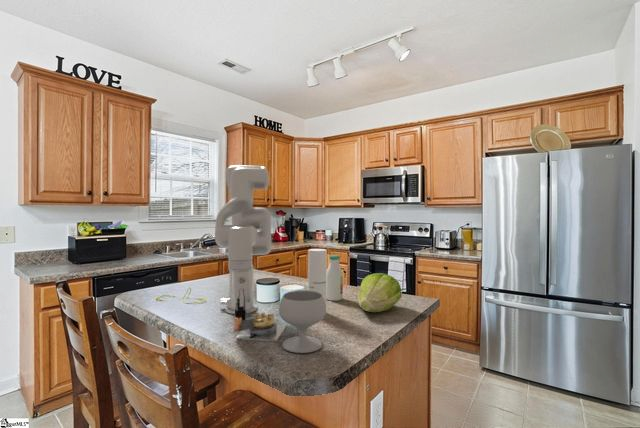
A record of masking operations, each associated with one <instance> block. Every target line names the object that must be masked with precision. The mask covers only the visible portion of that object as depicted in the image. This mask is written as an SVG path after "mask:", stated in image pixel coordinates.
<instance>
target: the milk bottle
mask: <svg viewBox="0 0 640 428" xmlns="http://www.w3.org/2000/svg"><path fill="white" fill-rule="evenodd" d="M343 278H344V277H343V270H342V267H341V266H340V255H339V254H334V255H333V254H331V255H329V264H328V267H327V268H326V301H327V300H328V301H332V302H334V301H335V302H337V301H341V300H343V298H344V297H343V293H344V292H343V291H344V290H343V285H344V283H343Z"/></svg>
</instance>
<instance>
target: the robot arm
mask: <svg viewBox="0 0 640 428" xmlns="http://www.w3.org/2000/svg"><path fill="white" fill-rule="evenodd" d="M225 180H226V185H227V187H228V188H227V189H228V191H229V201H227V202H226V203H225V204H224V205H223V206H222V207H221V208H220V210H219V212H218V213H217V215H216V219H215V228H214V240H215V244H216V245H217V246H218V247H221V248H227V250H228V256H227V257H228V268H227V269H228V271H229V285H228V286H229V287H228V289H229V295H228V297H229V298H228V297H227V298H221V299H220V300H219V303H220V305H222V306H223V305H226V306H225V313H228V314H231V315H234V318H235V317H242V319H245V318H246V314H250V313H254V312H255V311H257V309H258V305H257V304H256V303H254V282H255V281H254V280H255V279H254V276H255V275H254V269H255V268H254V264H253V256H264V255H268V254H270V252H271V250H272V225H271V224H272V223H271V221H272V220H271V213H270V210H269V209H268V208H266V207H257V206H256V207H255V206H253V205H254V190H262V191H263V190H267V188H269V184H270V176H269V171H268V169H267V167H266V166H265V165H264V166H263V165H249V164H248V165H247V164H245V165H243V164H242V165H241V164H235V165H230V166H228V167H227V168H226V170H225ZM230 217H231V224H225V223H226V221H227V220H228V219H229V218H230Z"/></svg>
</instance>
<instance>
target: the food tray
mask: <svg viewBox="0 0 640 428" xmlns="http://www.w3.org/2000/svg"><path fill="white" fill-rule="evenodd" d="M251 315H252V316H251V317H245V319H242V317H235V316H234V318H233V319H234V322H233V324H234V325H233V329H234V333H235V332H236V333H238V332H242V331H243V330H246V329H251V328H256V329H266V328H270V327H272V326H274V323H275V317H274V313H268V314H266V313H265V312H264V311H263V312H261V314H259V315H258V314H256V313H253V314H251Z"/></svg>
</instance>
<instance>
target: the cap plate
mask: <svg viewBox="0 0 640 428" xmlns="http://www.w3.org/2000/svg"><path fill="white" fill-rule="evenodd" d="M286 328H287V324H277V323H275V322H274V326H272V327H270V328H266V329H256V328H251V329H246V330H242V331H240V333H239V334H238V335H237V336H236V337H235V340H240V339H244V340H245V341H259V342H261V341H262V342H276V343H277V342H278V340H279V339H280V338H281V335H283V333H284V331H285V330H286Z"/></svg>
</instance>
